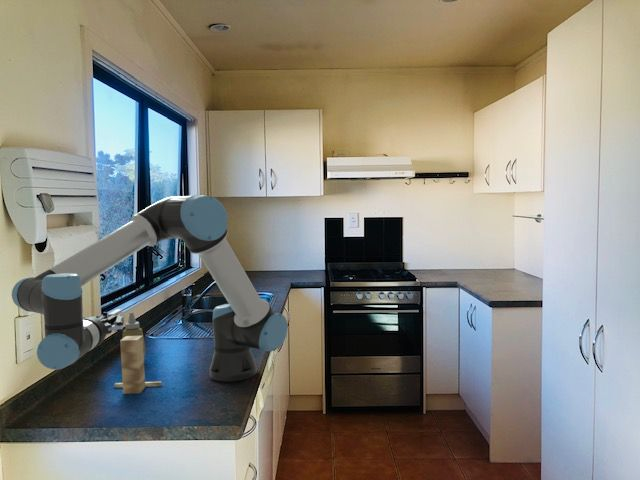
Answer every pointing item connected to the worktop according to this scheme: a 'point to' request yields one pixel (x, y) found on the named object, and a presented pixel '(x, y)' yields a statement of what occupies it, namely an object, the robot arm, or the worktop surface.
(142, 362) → the oak block
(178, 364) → the worktop surface
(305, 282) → the worktop surface
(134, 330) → the squeeze bottle
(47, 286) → the robot arm
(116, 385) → the maple strip
